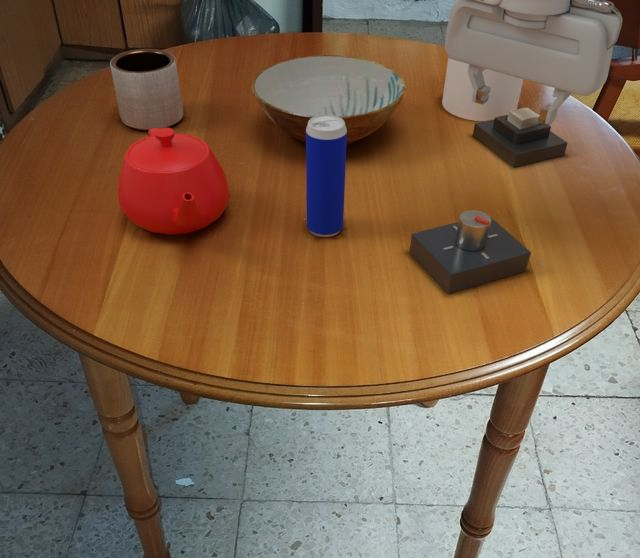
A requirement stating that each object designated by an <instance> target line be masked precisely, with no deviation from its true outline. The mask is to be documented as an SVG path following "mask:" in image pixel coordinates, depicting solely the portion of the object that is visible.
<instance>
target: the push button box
mask: <svg viewBox="0 0 640 558" xmlns="http://www.w3.org/2000/svg"><path fill="white" fill-rule="evenodd" d="M507 119H508V115H504V116H499V117H495V119H493V120H489V121H478V122H475V123H474V125H473V131H472V137H473V138H474V139H476V140H477V141H478V142H480V143H481V144H482V145H484V146H485V147H486V148H487V149H488V150H490V151H492V152H493V153H494V154H495V155H497V156H498V157H499V158H500V159H502V160H503V161H505V162H506V164H508V165H510V166H511V167H513V168H518V167H521V166H525V165H530V164H535V163H539V162H542V161H543V162H544V161H547V160H551V159H555V158H560V157H564V156H565V154H566V151H567V146H568V141H566V140H565V139H563V138H561V137H560V136H558V135H557V134H555V133H554V132H553V131H552V126H551V124H550V125H547V124H544V123H540V122H539V124H538V126H534V127H529V128H524V129H519V128H517V127H516V126H514V125H513V124H511V123H510V122H509V121H507Z"/></svg>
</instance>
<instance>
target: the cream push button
mask: <svg viewBox="0 0 640 558" xmlns="http://www.w3.org/2000/svg"><path fill="white" fill-rule="evenodd" d="M539 117H540V114H538V113H537V112H535V111H533V110H532V109H531V108H529V107H523V108H517V110H512V111H509V114H508V119H507V121H509V122H510V123H511V124H513V125H514V126H516V127H517V128H519V129H524V128H529V127H534V126H538V124H539V122H538V119H539Z"/></svg>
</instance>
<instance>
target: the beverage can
mask: <svg viewBox="0 0 640 558" xmlns="http://www.w3.org/2000/svg"><path fill="white" fill-rule="evenodd" d="M346 141H347V129H346V125H345V122H344V120H343V119H341V118H340V117H337V116H334V115H318V116H315V117H313V118H311V119H310V120H309V122H308V125H307V128H306V143H305V159H306V160H305V177H306V178H305V179H306V180H305V182H306V183H305V184H306V186H305V187H306V191H305V192H306V200H305V201H306V228H307V229H308V231H309V232H310V233H311V234H312V235H314V236H316V237H320V238H331V237H334V236H336V235H338V234H339V233H340V232H341V231H342V230H343V228H344V220H345V219H344V214H345V190H346V165H347V163H346V162H347V145H346Z"/></svg>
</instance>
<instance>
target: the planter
mask: <svg viewBox="0 0 640 558" xmlns="http://www.w3.org/2000/svg"><path fill="white" fill-rule="evenodd" d="M109 67H110V71H111V76H112V82H113V86H114V92H115V98H116V102H117V107H118V113H119V117H120V120H121V122H122V123H123V124H124V125H125V126H127V127H128V128H131V129H134V130H136V131H141V132H149V130H151V129H153V128H158V129H160V128H172V127H174V126H176V125H177V124H178V123H179V122H180V121H182V119H183V117H184V105H183V99H182V92H181V87H180V80H179V73H178V67H177V60H176V57H175V56H174V54H172V53H171V52H168V51H166V50H163V49H157V48H156V49H155V48H139V49H131V50H128V51H124V52H120V53H119V54H117V55H115V56H114V57H112V58H111V60H110V61H109ZM121 118H122V119H121ZM123 120H124V121H125V122H127V123H129V124H127V123H125V122H124V121H123ZM130 124H132V125H130ZM133 125H136V126H133ZM138 126H141V127H138Z"/></svg>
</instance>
